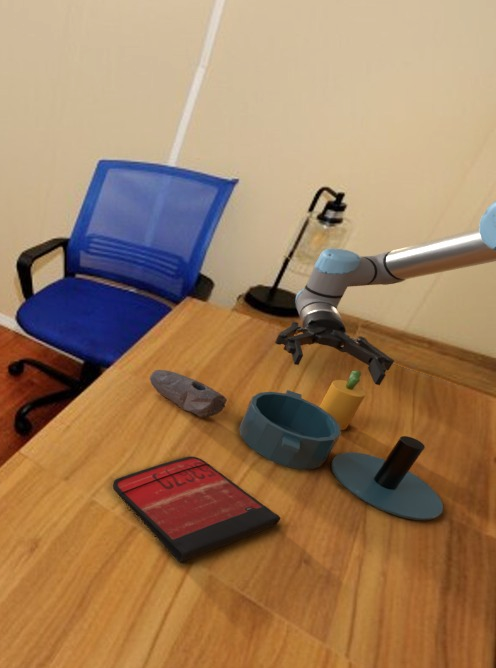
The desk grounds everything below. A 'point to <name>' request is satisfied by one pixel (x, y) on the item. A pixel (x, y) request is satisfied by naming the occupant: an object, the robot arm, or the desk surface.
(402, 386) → the desk surface
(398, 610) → the desk surface
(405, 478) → the pot lid
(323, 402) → the yellow cylinder green stem
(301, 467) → the pot
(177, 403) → the perforated stone tool
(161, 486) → the binder
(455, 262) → the robot arm
